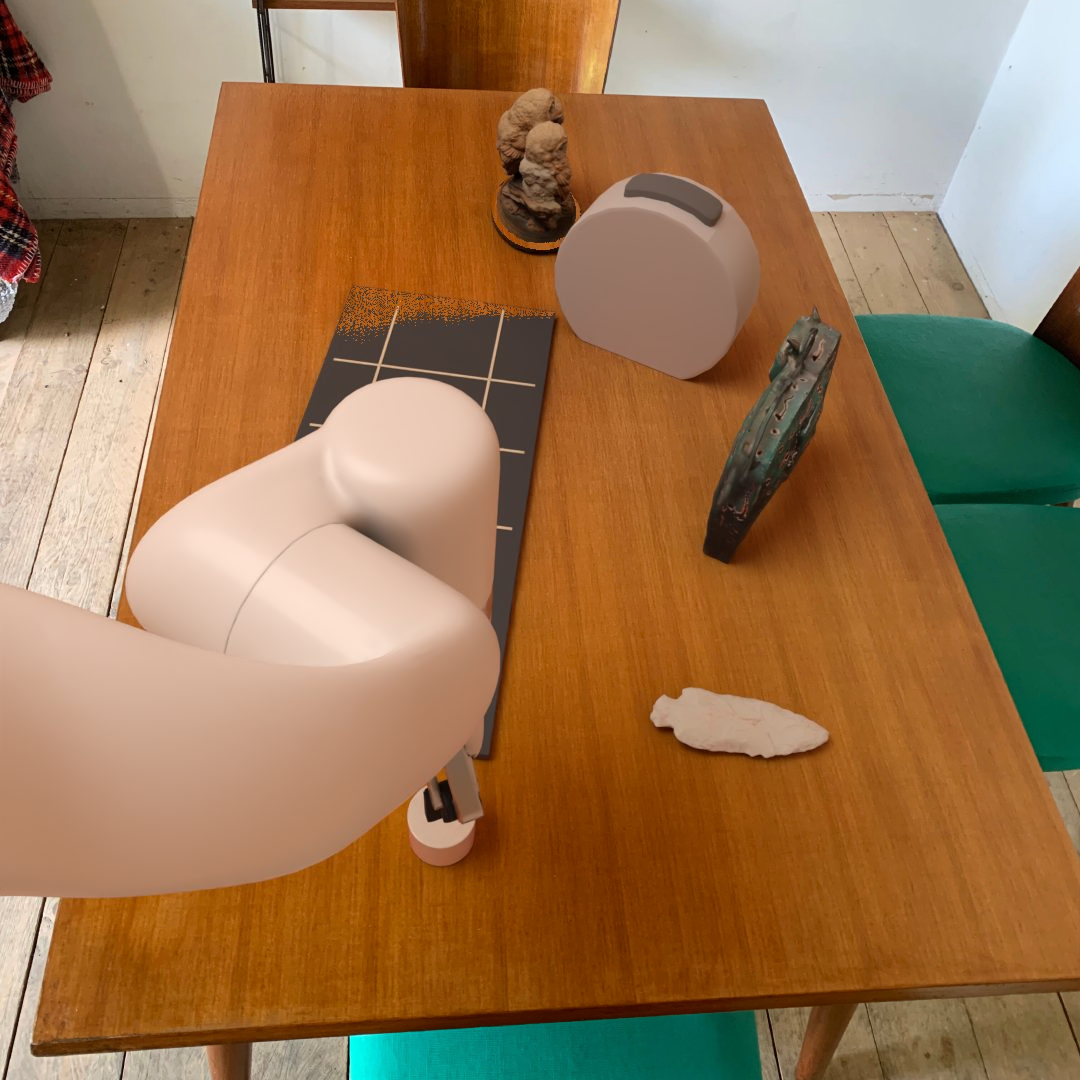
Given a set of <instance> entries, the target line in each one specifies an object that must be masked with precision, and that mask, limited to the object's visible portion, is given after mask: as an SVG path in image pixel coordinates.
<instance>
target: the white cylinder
mask: <svg viewBox="0 0 1080 1080" xmlns="http://www.w3.org/2000/svg"><path fill="white" fill-rule="evenodd" d="M426 788H428V787H427V785H424V786H423V787H422V788H421V789H420V790H418V791H417V792H416V793H415V794H414V795H413V796H412V798H411V800H410V802H409V805H408V808H407V814H406V820H407V829H408V831H407V832H408V840H409V844H410V847H411V850H412V851H413V853H414V854H415V855H416V856H417V857H418V858H419V860H421V861H423V863H426V864H428V865H431V866H435V867H447V866H451V865H454V864H456V863H458V862H460V861H461V860H462V859H464V858H465V857H466V855H468V854H469V852H470V850H471V849H472V847H473V845H474V842H475V837H476V824H477V823H476V822H477V819H476V820H474V821H471V822H468V823H466V824H463V825H462V824H461V823H460V822H458V820H456V821H453V822H450V823H444V822H443V819H439V820H437V821H434V822H427V819H426V816H425V809H424V795H423V791H424V790H425V789H426Z"/></svg>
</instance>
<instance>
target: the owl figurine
mask: <svg viewBox="0 0 1080 1080" xmlns="http://www.w3.org/2000/svg"><path fill="white" fill-rule="evenodd" d="M564 122H565V115H564V108H563V104H562V103H561V100H560V99H559V98H558V97H557V96H555V95H554V94H553V93H552V91H551V90H549V89H547V88H544V87H538V88H531V89H529V90H528V91H526V92H525V93H523V94H521V95H520V96H519V97H518V98H517V99H516V100H515V101H514V102H513V104H512V106H511V108H510V109H508V110H506V111H504V113H502V114H501V117H500V119H499V121H498V124H497V132H496V133H497V139H496V141H495V149H496V150H497V151H498V155H499V159H500V161H501V166H502V169H503V174H505V176H509V177H508V178H507V179H505V180H504V181H505V183H504V184H503V185H502V186H501V188H500V190H499V192H498V195H497V209H498V210H497V212H498V215H499V216H498V217H500V218H499V219H500V220H501V222H502V224H503V225H505V226H504V227H506V229H508V232H510V233H513V234H514V235H516V237H517V238H519V239H522V240H524V241H526V242H534V243H545V242H546V243H547V242H548V243H549V242H556V241H557V240H558V239H559V240H560V238H563V237H565V236H566V235H567V234H568V232H569V230H570V229H571V227H572V226H573V225H574V223H575V219H576V206H575V201H574V199H573V197H572V194H573V193H572V192H571V191H572V184H571V182H572V172H573V171H572V168H571V164H570V158H569V157H568V156H567V150H568V142H569V140H568V135H567V133H566V130H565V127H564V126H563V124H564ZM570 192H571V193H572V194H571V193H570ZM490 213H491V219H492V222H493V226H494V228H495V231H496V232H497V233H498V235H499V236H500V237H501V238H502V239H503V240H504V241H505V242H506V243H508V244H509V245H511V247H513V248H515V249H517V250H523V251H524V252H527V253H530V252H533V253H537V252H538V253H543V252H549V253H554V252H556V253H558V251H559V247H557V248H554V249H550V250H536V249H530V248H525V247H523V246H520V245H518V244H515V243H514V242H512V241H511V240H509V239H508V238H507V237H506V236H505V235H504V234H502V232H501V231H500V230H499V228H498V227H497V225H496V223H495V221H494V218H493V215H492V209H491V208H490Z"/></svg>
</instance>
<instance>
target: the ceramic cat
mask: <svg viewBox="0 0 1080 1080" xmlns="http://www.w3.org/2000/svg"><path fill="white" fill-rule="evenodd" d="M841 339H842V332H841V331H840V330H838V329H837V328H836V327H833V326H831V325H830V324H827V323H826V322H824V321H823V320H822V319H821V316H820V313H819V310H818V308H817V306H816V305H815V304H813V307H812V313H811V314H809V315H801V316H799V317H798V318H797V320H796V321H795V323H794V324H793V325H792V326H791V329H790V331H788V333H787V335H786V336H785V338H784V340H783V342H782V344H781V345H780V347H779V349H778V351H777V353H776V356H775V357H774V361H773V363H772V364H771V367H770V369H769V370H768V372H767V374H768V379H769V381H770V384H768V386H767V387H766V388H765V389H764V391H762V393H761V395H760V397H759V398H758V399H757V400H756V402H755V403H754V404H753V406H752V407H751V408H750V410H749V412H748V413H747V415H746V416H745V418H744V420H743V422H742V425H741V427H740V429H739V430H738V432H737V433H736V435H735V438H734V441H733V444H732V446H731V449H730V452H729V454H728V457H727V459H726V461H725V464H724V467H723V470H722V473H721V475H720V478H719V480H718V483H717V486H716V488H715V491H714V492H713V496H712V503H711V507H710V510H709V512H708V519H707V523H706V534H705V537H704V541H703V544H702V545H703V546H702V552H703V553H704V554H706V555H708V556H709V557H712V558H714V559H718V560H720V561H722V562H723V563H725V564H729V563H730V562H731V560H732V559H733V557H734V556H735V554H736V552H737V550H738V549H739V547H740V546H741V544H742V543H743V541H744V540H745V539H746V537H747V536H748V534H749V532H750V530H751V529H752V528H753V526H754V525H755V523H756V521H757V520H758V518H759V516H760V515H761V513H763V511H764V509H765V508H766V506H767V505H768V504H769V502H770V501H771V499H772V497H773V496H774V495H775V494H776V492H777V491H778V489H779V488H780V487H781V485H782V484H784V483H785V482H786V481H787V480H788V479H789V477H790V475H791V473H792V472H793V471H794V469H795V468H796V466H797V464H798V463H799V461H800V460H801V458H802V456H803V455H804V453H805V452H806V449H807V448H808V447H809V445H810V443H811V440H812V438H813V437H814V436H815V434H816V432H817V425H818V423H819V421H820V417H821V415H822V413H823V411H824V410H823V409H824V403H825V397H826V394H827V390H828V386H829V385H830V381H831V377H832V374H833V370H834V366H835V363H836V359H837V356H838V353H839V349H840V345H841Z"/></svg>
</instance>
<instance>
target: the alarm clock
mask: <svg viewBox="0 0 1080 1080" xmlns="http://www.w3.org/2000/svg"><path fill="white" fill-rule="evenodd" d="M761 280H762V272H761V262H760V256H759V250H758V249H757V246H756V243H755V241H754V238H753V236H752V234H751V231H750V229H749V227H748V226H747V224H746V223H745V222H744V220H743V219H742V218H741V217H740V215H739V213H738V212H737V211H736V210H735V208H734V207H733V206H732V205H731V204H730V203H729V202H727V201H726V200H725V199H724V198H723V197H721V196H720V195H719V194H718V193H716V192H715V191H714V190H713V189H711V188H710V187H707V186H706V185H703V184H702V183H699V182H697V181H695V180H693V179H691V178H689V177H686V176H681V175H677V174H672V173H667V172H651V173H649V172H648V173H647V172H645V173H644V172H643V173H637V174H634V175H632V176H629V177H626V178H624V179H622V180H619V181H616V182H614V183H613V184H612V185H611V186H610V187H609V188H607V189H606V190H605V191H604V192H603V193H601V194H600V195H599V196H598V197H597V198H596V199H595V200H594V201H593V202H592V203H591V205H590V206H589V207H588V208H587V209H586V210H585V211H584V213H583V214H581V217H580V218H579V219H578V221H577V222H576V223H575V224H574V225H573V226H572V227H571V229H570V230H569V232H568V234H567V235H566V237H565V238H564V240H563V241H562V243H561V244H560V247H559V251H557V255H556V259H555V263H554V289H555V292H556V296H557V299H558V303H559V307H560V310H561V313H562V314H563V315H564V318H565V319H566V322H567V323H568V325H569V327H570V328H571V330H572V332H573V333H574V334H575V335H576V336H577V338H578V339H579V340H580V341H582V342H585V343H587V344H590V345H591V346H595V347H597V348H600V349H603V350H604V351H607V352H610V353H612V354H615V355H618V356H620V357H623V358H625V359H627V360H630V361H633V362H635V363H638V364H640V365H643V366H646V367H647V368H651V369H652V370H656V371H658V372H660V373H663V374H666V375H668V376H671V377H673V378H676V379H678V380H688V379H693V378H695V377H697V376H699V375H701V374H703V373H705V372H707V371H709V370H711V369H713V367H715V365H717V364H718V363H719V362H720V361H721V360H722V359H723V358H724V357H725V355H727V353H728V352H729V350H730V348H731V346H732V345H733V344H734V342H735V340H736V338H737V336H738V335H739V333H740V332H741V330H742V329H743V327H744V325H745V323H746V321H747V319H748V318H749V316H750V314H751V313H752V310H753V308H754V307H755V305H756V303H757V301H758V297H759V294H760V293H759V292H760V287H761V286H760V285H761Z"/></svg>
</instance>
